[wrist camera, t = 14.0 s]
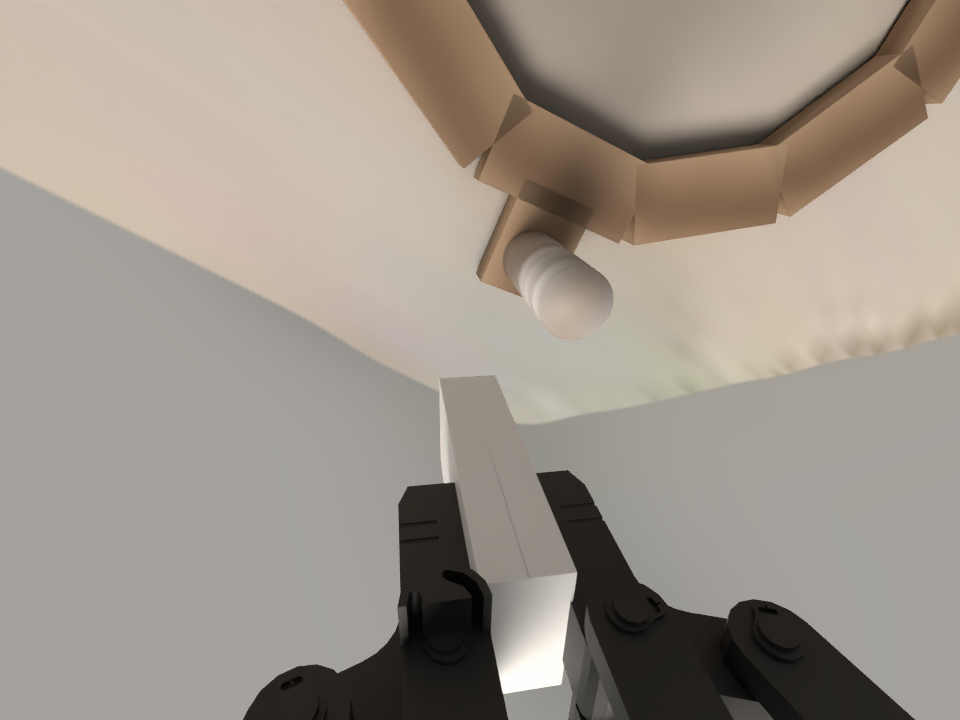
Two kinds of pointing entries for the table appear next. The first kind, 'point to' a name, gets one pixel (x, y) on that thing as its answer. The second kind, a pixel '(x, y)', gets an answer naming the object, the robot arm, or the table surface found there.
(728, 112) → the table surface
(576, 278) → the turntable ring
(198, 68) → the table surface
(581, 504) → the robot arm
